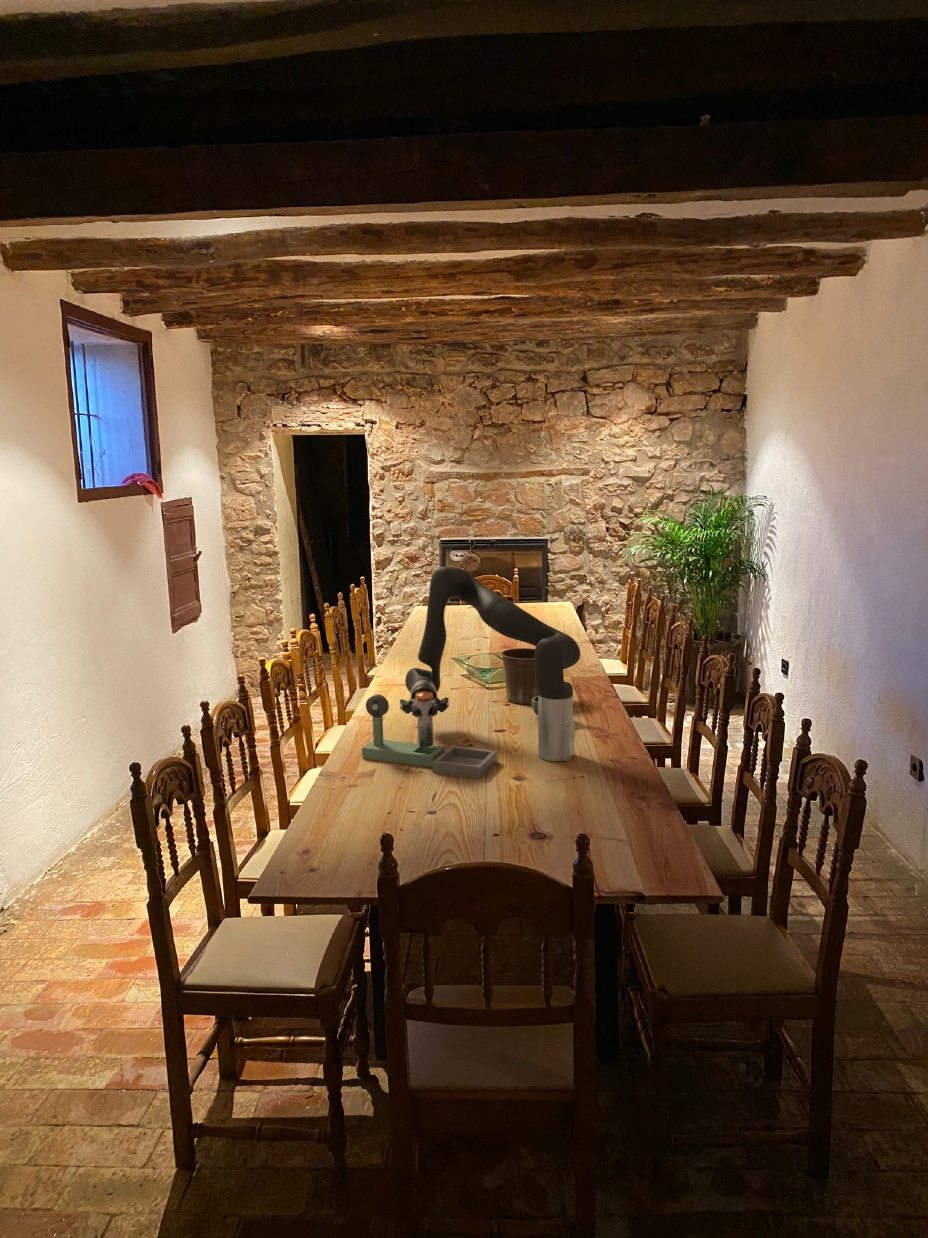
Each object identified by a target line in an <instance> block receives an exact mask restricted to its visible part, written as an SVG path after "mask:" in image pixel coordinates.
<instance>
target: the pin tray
mask: <svg viewBox="0 0 928 1238" xmlns="http://www.w3.org/2000/svg"><path fill="white" fill-rule="evenodd" d="M497 762H498V751H497V750H490V749H482V748H473V747H465V746H464V747H463V746H457V745H456V746H454V745H451V746H450V747H448V749H445V752H444V753H443V754H441V755H440V756H439V757H438V758H437V759H435V760H434V761H433V767H432V773H434V774H441V775H447V776H448V775H449V776H455V777H463V778H470V779H477V780H481V778H483V777H484V776H485V775H486V774H487V772H489V770H490V769H492V767H494V765H496V764H497Z"/></svg>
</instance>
